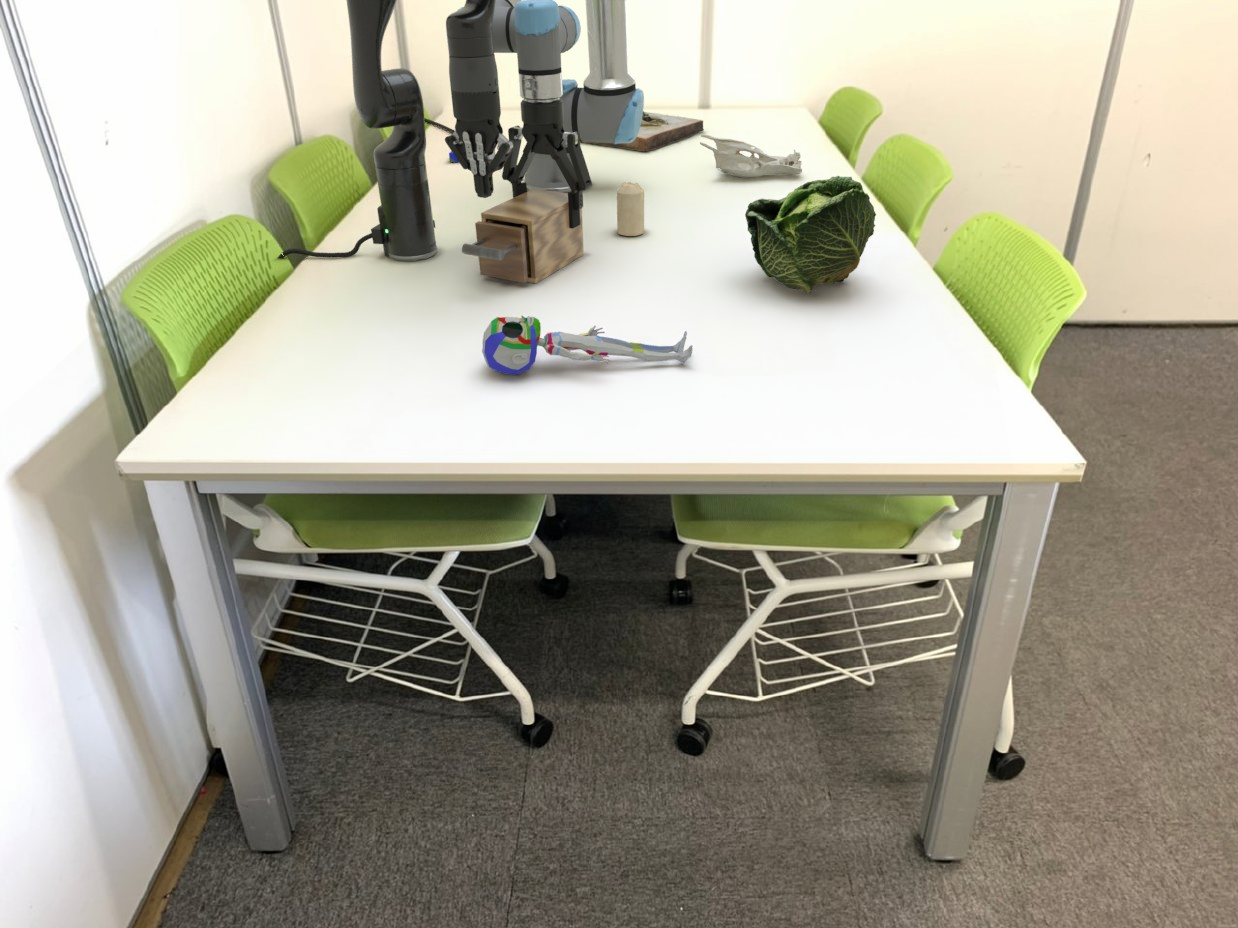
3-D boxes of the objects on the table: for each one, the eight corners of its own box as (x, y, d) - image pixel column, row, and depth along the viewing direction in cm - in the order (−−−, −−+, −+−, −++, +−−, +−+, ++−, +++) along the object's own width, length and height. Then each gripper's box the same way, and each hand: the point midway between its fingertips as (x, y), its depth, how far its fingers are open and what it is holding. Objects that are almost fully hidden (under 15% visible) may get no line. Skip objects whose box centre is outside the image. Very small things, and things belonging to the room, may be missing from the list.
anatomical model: (702, 130, 224) (803, 129, 220) (702, 168, 229) (801, 167, 225) (697, 145, 212) (805, 144, 208) (697, 184, 216) (802, 184, 213)
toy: (697, 344, 127) (483, 326, 122) (687, 397, 131) (480, 382, 126) (685, 315, 135) (485, 298, 130) (676, 366, 139) (482, 351, 135)
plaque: (647, 125, 237) (559, 112, 252) (647, 153, 241) (560, 139, 256) (706, 107, 258) (622, 97, 273) (705, 133, 262) (622, 121, 277)
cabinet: (535, 283, 161) (531, 220, 155) (486, 274, 165) (480, 213, 159) (583, 254, 173) (581, 195, 167) (536, 246, 178) (533, 188, 172)
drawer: (506, 294, 154) (501, 240, 149) (461, 285, 158) (455, 232, 153) (570, 255, 170) (568, 205, 165) (528, 248, 174) (524, 199, 169)
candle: (647, 229, 186) (647, 180, 180) (639, 237, 181) (639, 187, 176) (622, 227, 187) (621, 178, 182) (613, 235, 183) (612, 185, 177)
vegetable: (771, 309, 166) (722, 214, 159) (855, 252, 168) (810, 155, 160) (822, 325, 148) (769, 219, 140) (916, 260, 149) (868, 151, 142)
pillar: (476, 136, 251) (456, 154, 234) (476, 144, 252) (457, 162, 235) (468, 136, 251) (448, 153, 234) (469, 144, 252) (449, 162, 236)
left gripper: (426, 87, 141) (439, 197, 150) (495, 93, 136) (505, 207, 145) (455, 79, 146) (466, 186, 156) (522, 85, 141) (530, 195, 150)
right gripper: (475, 97, 160) (486, 220, 171) (588, 107, 150) (592, 236, 162) (499, 90, 165) (508, 209, 177) (609, 100, 156) (612, 225, 168)
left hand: (485, 196), depth 150 cm, fingers closed
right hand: (548, 222), depth 170 cm, fingers closed on cabinet, 11 cm apart
